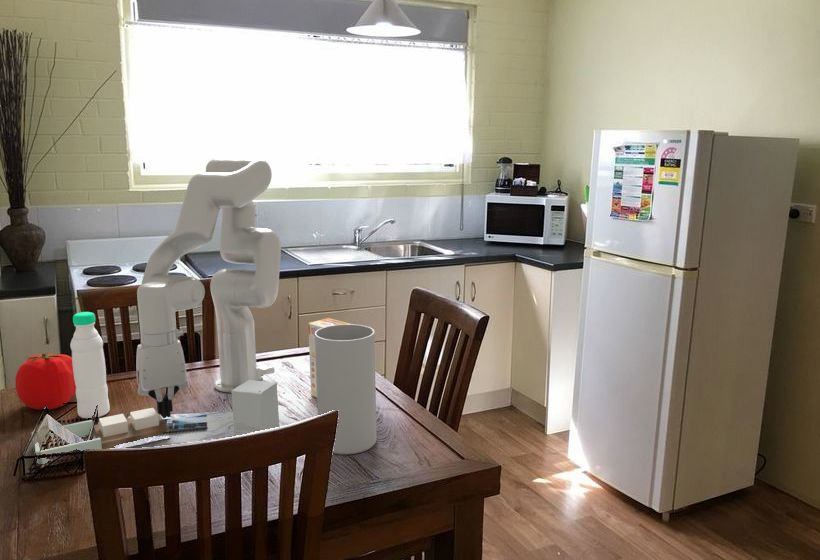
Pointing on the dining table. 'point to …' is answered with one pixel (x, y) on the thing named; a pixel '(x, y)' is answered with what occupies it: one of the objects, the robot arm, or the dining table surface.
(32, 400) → the tomato
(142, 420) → the tile
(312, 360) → the coffeecake box
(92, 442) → the tray
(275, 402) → the supplement box
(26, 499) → the dining table surface
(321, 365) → the cylinder vase
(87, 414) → the water bottle
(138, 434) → the board
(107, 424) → the tile
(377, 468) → the dining table surface
